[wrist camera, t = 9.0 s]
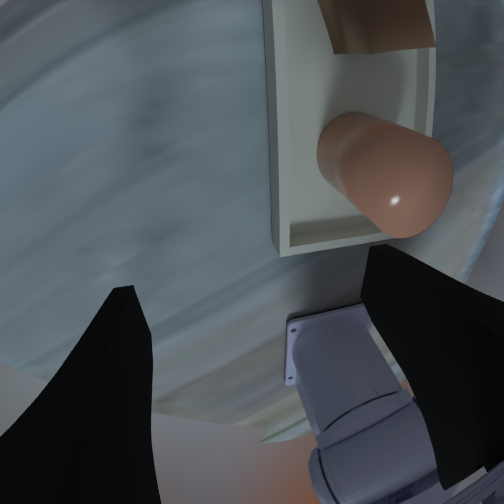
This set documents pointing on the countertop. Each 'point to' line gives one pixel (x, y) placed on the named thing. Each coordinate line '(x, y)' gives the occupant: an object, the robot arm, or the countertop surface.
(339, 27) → the walnut block
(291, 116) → the tray
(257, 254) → the countertop surface
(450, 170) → the brown rounded cylinder
